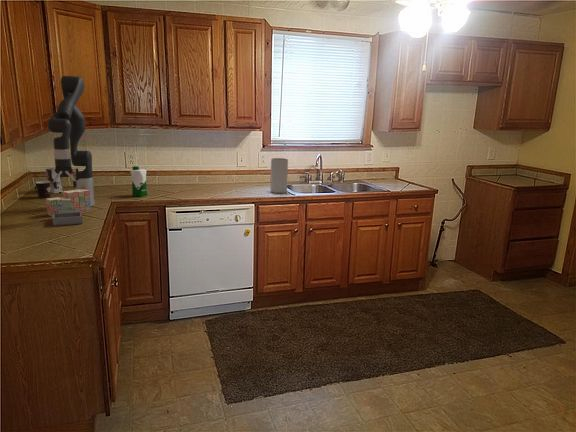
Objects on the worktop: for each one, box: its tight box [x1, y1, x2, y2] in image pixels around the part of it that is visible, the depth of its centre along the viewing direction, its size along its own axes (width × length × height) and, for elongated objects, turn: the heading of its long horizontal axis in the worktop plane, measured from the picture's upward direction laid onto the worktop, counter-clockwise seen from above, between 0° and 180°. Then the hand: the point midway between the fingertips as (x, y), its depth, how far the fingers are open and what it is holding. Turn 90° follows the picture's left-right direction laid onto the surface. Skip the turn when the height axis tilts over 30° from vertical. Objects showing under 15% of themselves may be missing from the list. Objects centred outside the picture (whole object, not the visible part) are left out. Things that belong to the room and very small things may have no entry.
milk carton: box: [129, 165, 148, 198], centre depth 290 cm, size 9×9×20 cm
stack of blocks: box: [45, 189, 92, 218], centre depth 240 cm, size 21×6×12 cm, turn 140°
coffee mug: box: [34, 180, 51, 199], centre depth 275 cm, size 12×9×10 cm
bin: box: [51, 212, 83, 227], centre depth 221 cm, size 10×13×4 cm
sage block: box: [62, 199, 72, 213], centre depth 230 cm, size 5×4×10 cm
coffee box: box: [45, 167, 63, 194], centre depth 293 cm, size 9×6×16 cm
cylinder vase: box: [270, 157, 289, 194], centre depth 321 cm, size 12×12×25 cm
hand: (65, 188), depth 227 cm, fingers open, 8 cm apart
